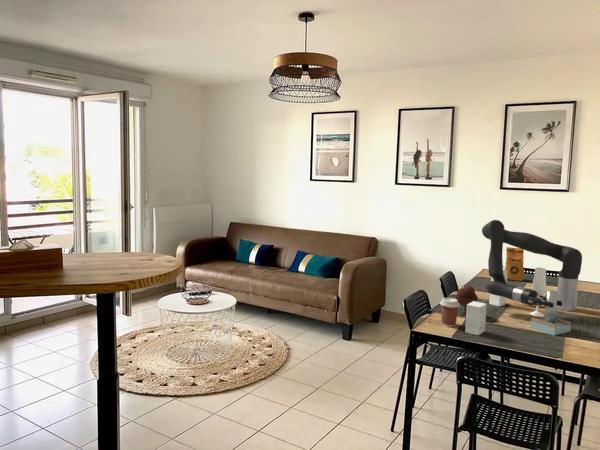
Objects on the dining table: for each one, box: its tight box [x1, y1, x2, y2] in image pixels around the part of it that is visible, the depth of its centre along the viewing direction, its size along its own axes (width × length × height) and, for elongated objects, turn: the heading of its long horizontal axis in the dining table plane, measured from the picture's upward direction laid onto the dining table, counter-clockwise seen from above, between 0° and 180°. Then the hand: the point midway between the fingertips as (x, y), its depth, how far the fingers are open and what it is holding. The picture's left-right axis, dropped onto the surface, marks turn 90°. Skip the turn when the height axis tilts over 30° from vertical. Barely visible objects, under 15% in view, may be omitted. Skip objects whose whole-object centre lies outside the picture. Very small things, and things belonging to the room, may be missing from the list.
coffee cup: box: [439, 297, 461, 327], centre depth 229 cm, size 9×9×12 cm
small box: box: [464, 301, 487, 336], centre depth 219 cm, size 8×6×13 cm
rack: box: [529, 317, 572, 336], centre depth 225 cm, size 12×12×4 cm
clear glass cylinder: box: [544, 289, 558, 324], centre depth 224 cm, size 4×4×15 cm
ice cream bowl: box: [455, 285, 479, 317], centre depth 245 cm, size 11×11×15 cm
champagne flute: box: [529, 267, 547, 317], centre depth 247 cm, size 7×7×24 cm
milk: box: [488, 265, 508, 307], centre depth 265 cm, size 6×6×22 cm
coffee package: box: [505, 246, 525, 282], centre depth 327 cm, size 10×12×22 cm
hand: (557, 304), depth 221 cm, fingers open, 5 cm apart
